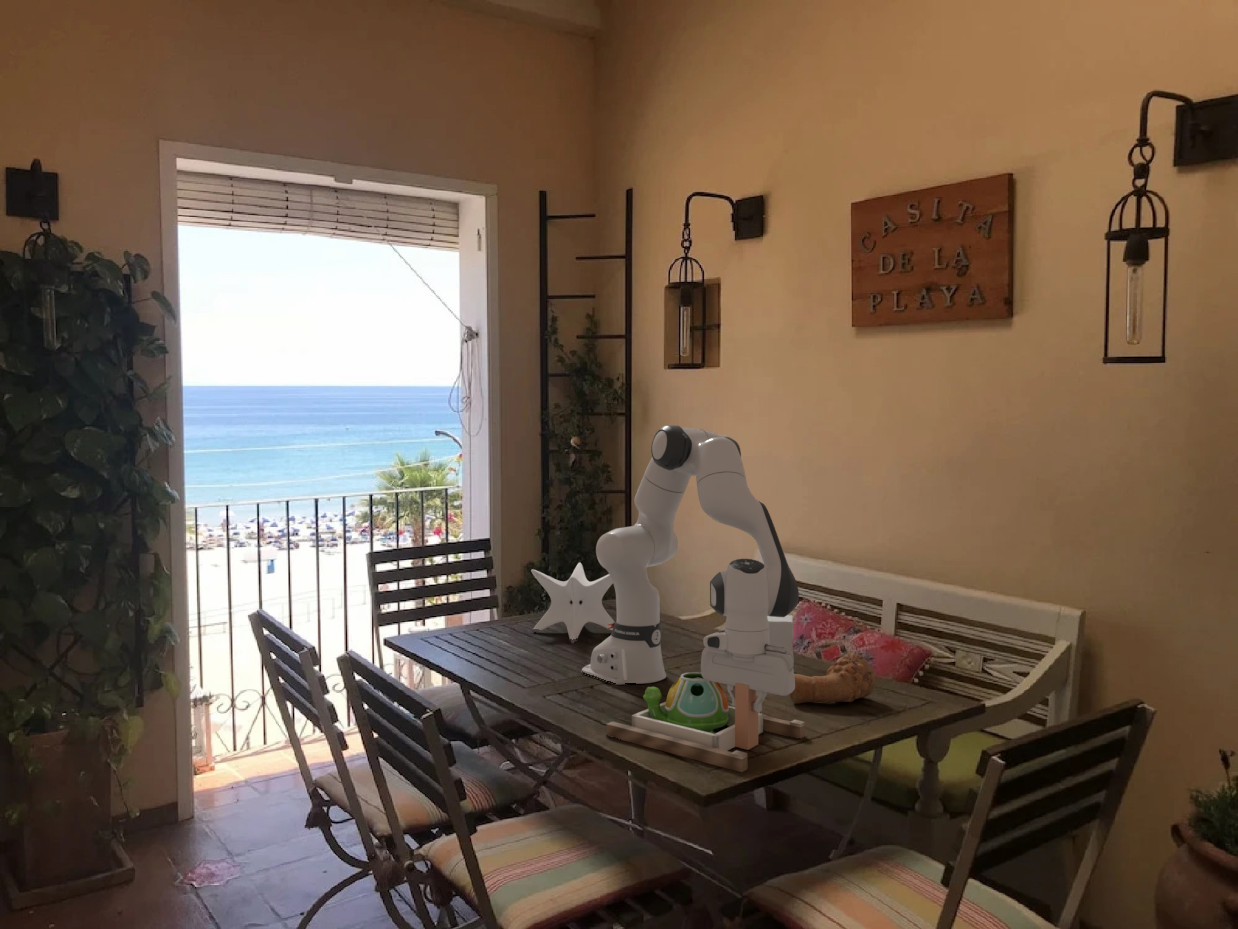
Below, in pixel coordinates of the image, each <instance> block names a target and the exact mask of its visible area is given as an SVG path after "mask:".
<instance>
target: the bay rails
mask: <svg viewBox="0 0 1238 929" xmlns="http://www.w3.org/2000/svg"><path fill="white" fill-rule="evenodd" d="M763 730H766V731H765V732H768V731H769V732H768V733H772V732H773V734H777V735H781V736H785V737H789V736H791V737H790V738H793V737H796V738H795V739H798V738H801V737H803V736H805V737H806V722H805V721H802V720H798V719H793V720H791V721H790V720H785V719H780V718H776V717H772V716H766V715H764V714H763ZM605 734H606V735H608V736H607V737H609V736H613V737H616V738H615V739H617V738H618V739H617V740H620V739H621V741H624V742H629V743H631V742H632V744H636V745H639V746H643V747H647V748H649V749H654V750H658V751H662V752H665V753H669V754H673V755H677V756H679V757H680V756H681V757H683V758H687V759H691V760H695V761H697V762H698V761H699V762H701V763H706V764H709V765H712V766H717V767H721V768H723V769H728V770H732V771H736V772H740V773H744V772H745V771H747V770H748V752H744V751H741V750H737V749H736V750H734V751H733V752H732V751H730V750H728V751H725V750H721V749H717V748H713V747H710V746H706V745H702V744H698V743H694V742H690V741H686V740H682V739H678V738H675V737H671V736H667V735H663V734H659V733H655V732H651V731H647V730H643V729H640V728H636V727H632V725H628V724H624V723H619V722H617V721H610V722H608V723H605ZM606 735H605V736H606ZM613 737H612V738H613ZM803 738H804V737H803ZM801 739H802V738H801Z"/></svg>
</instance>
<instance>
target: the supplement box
mask: <svg viewBox="0 0 1238 929" xmlns="http://www.w3.org/2000/svg"><path fill="white" fill-rule="evenodd" d="M767 619H768V623H769V645H772V646H776V647H784V648H787V650H788V651H790V652H791V654H792V655H793V656H794V616H793V615H791V614H788V615H787V616H785V617H771V616H767ZM788 654H789V653H788Z"/></svg>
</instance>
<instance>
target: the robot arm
mask: <svg viewBox="0 0 1238 929" xmlns="http://www.w3.org/2000/svg"><path fill="white" fill-rule="evenodd" d="M651 442H652V443H651V450H650V453H651V459H650V460H649V461H648V464H647V466H646V469H645V471H644V474H643V476H642V478H641V481H640V484H639V485H638V488H637V491H636V494H635V496H634V499H633V503H634V506H635V508H636V509H637V511H638V517H637V521H636V523H635V524H634V525H631V526H625V527H619V528H618V527H617V528H614V529H612V530H609V531H607V532H605V533H604V534H602V535H601V536H600V537H599V538H598V540H597V542H596V546H595V554H596V558H597V560H598V563H599V564H600V566H601V567H602V568H603V569H605V570H606V571H607V572H608V574H610V576H611V578H612V581H613V584H612V585H613V587H614V592H615V604H616V606H615V608H616V621H615V620H614V623H612V624H609V625H611V626H610V627H609V628H608V629H607V630H609V629H610V628H613V630H612V631H611V633H610V636H608V637H606V638H605V639H604V640H603V641H602V642H601V643H599V644H597V645H596V646H595V647H594V648H593V650H592V652H591V656H590V663H589V664H587V665H585V666H583V667H582V669H581V672H582V671H583V672H585V673H587V674H590V675H594V676H597V677H599V678H601V679H604V680H606V681H605V682H607V681H611V682H613V683H616V684H615V685H626V684H625V683H636V685H637V684H651V683H656V682H661V681H662V680H664V679H666V678H667V674H666V670H665V666H664V660H663V656H662V655H663V654H662V648H661V647H662V645H661V642H662V621H660V618H661V617H660V592H659V590H658V588H656V587H655V586H654V585H653V584H651V581H650V579H649V576H648V569H647V568H650V567H654V566H659V565H662V564H664V563H666V562H667V561H669V560H671V559H672V558H673V557H674V556H675V554H676V553H677V551H678V546H679V542H678V537H677V534H676V533H675V531H674V526H675V525H674V523H675V518H676V516H677V515H676V514H677V511H678V510H679V507H680V504H681V502H682V499H683V497H684V494H685V492H686V490H687V487H688V484H689V482H690V479H691V477H692V476H696V479H695V480H696V487H697V488H696V489H697V490H696V491H697V494H698V501H699V503H700V507H701V509H702V510H703V512H704V513H705V514H706V515H707V516H708V517H709V518H711V519H712V520H713V521H716V523H717V522H718V523H720V524H723V525H725V526H728V527H732V528H735V529H738V530H740V531H742V532H744V533H746V534H748V535H750V536H751V537H752V538H753V539H754V540H755V542H756V545H757V547H758V549H759V553H760V556H761V559H762V562H761V561H759V560H756V559H752V558H736V559H734V560H732V561H730V562H729V563H728V565H727V567H726V570H723V571H719V572H717V573H716V574H715V575H714V576H713V577H712V579H711V580H710V581H709V606H710V607H711V608H712V609H713V610H714V611H715V612H716V613H717V614H719V615H720V616H724V617H726V620H725V623H724V630H720V631H717V632H714V633H711V634H708V635H706V636H704V637H703V640H702V641H703V645H704V648H703V650H702V652H701V657H700V660H701V661H700V672H701V675H702V677H703V678H704V680H707V681H712V682H717V683H719V684H722V685H726V688H727V689H726V690H727V692H728V694H729V696H730V698H731V700H732V701H731V706H732V707H735V683H740V684H744V685H749V689H751V690H756V696H758V698H757V700H756V701H754V702H752V703H751V707H752V708H751V711H754V712H759V713H761V712H762V710H763V702H764V701H765V699H766V697H767V695H768V694H771V695H774V696H775V695H776V696H781V697H786V696H789V695H790V694H791V693H792V692H793V691H794V689H795V677H794V674H795V670H794V664H795V662H794V661H795V660H794V659H795V658H794V654H793V655H792V654H791V652H790V651H788V650H787V648H784V647H776V646H772V645H769V623H768V619H767V616H771V617H785V616H787V615H790V614H791V613H792V612H793V611H794V610H795V608H796V607H797V606H798V605H799V601H800V600H799V599H800V592H799V588H798V582H797V580H796V577H795V576H794V573H793V571H792V570H791V568H790V565H789V564H788V561H787V559H786V555H785V553H784V549H783V547H782V544H781V542H780V539H779V536H778V533H777V531H776V528H775V525H774V522H773V519H772V517H771V514H770V513H769V510H768V508H767V506H766V505H765V504H764V503H763V502H761V501H760V500H758V499H757V498H756V497H755V495H754V494H753V493H752V492H751V490H750V488H749V486H748V482H747V477H746V472H745V467H744V464H743V460H742V452H741V448H740V447H741V446H740V445H739V443H738V441H736V440H735V439H733V438H732V437H729V436H727V435H722V434H718V433H716V432H712V431H709V430H705V429H697V428H692V427H685V426H684V427H681V426H680V425H675V424H674V425H663V426H662V427H660V428H659V429H658V430H657V431H656V433H655V434H654V436H653V439H652V441H651ZM788 653H789V654H788ZM601 679H600V680H601ZM604 680H603V681H604ZM613 683H612V684H613Z"/></svg>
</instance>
